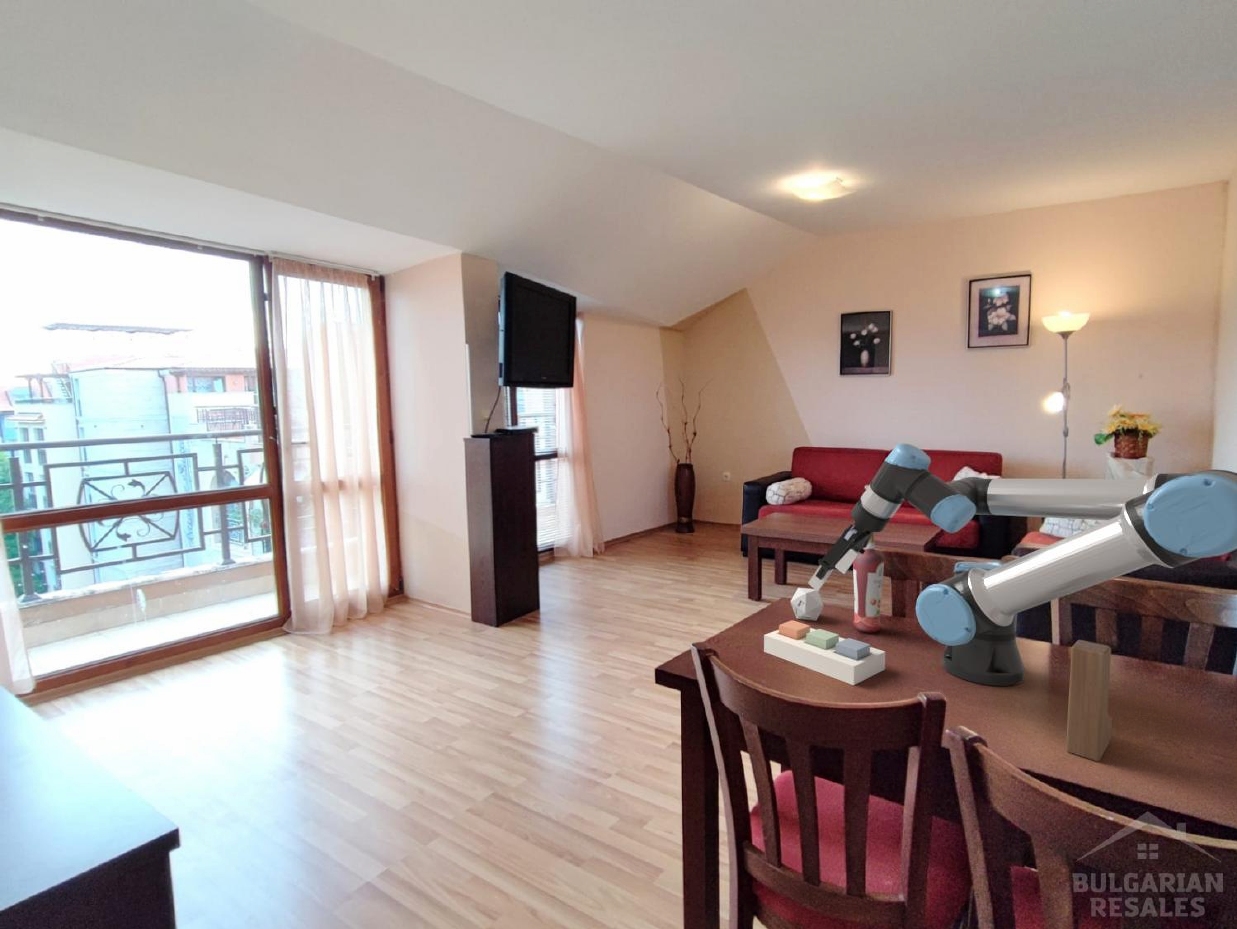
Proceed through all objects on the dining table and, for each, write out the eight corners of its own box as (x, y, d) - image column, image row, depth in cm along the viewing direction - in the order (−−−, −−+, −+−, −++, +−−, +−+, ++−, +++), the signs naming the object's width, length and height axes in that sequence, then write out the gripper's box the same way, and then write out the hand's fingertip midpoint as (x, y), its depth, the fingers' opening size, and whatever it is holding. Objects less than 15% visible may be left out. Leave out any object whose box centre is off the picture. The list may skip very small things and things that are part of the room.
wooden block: (1078, 732, 110) (1084, 631, 108) (1111, 742, 106) (1117, 638, 105) (1065, 752, 104) (1071, 645, 102) (1099, 763, 100) (1105, 653, 99)
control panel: (884, 669, 136) (885, 651, 136) (853, 685, 129) (853, 666, 129) (795, 639, 154) (796, 623, 154) (764, 651, 147) (764, 635, 147)
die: (785, 615, 174) (782, 594, 168) (807, 596, 176) (805, 575, 170) (809, 633, 168) (807, 612, 162) (831, 613, 171) (829, 592, 164)
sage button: (838, 647, 141) (838, 634, 141) (825, 653, 138) (825, 640, 138) (819, 641, 145) (819, 628, 145) (806, 646, 142) (806, 633, 142)
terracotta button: (810, 638, 147) (810, 625, 147) (796, 643, 144) (796, 630, 143) (792, 632, 151) (792, 620, 150) (778, 637, 148) (779, 625, 147)
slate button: (869, 658, 135) (870, 644, 135) (856, 664, 132) (857, 650, 132) (848, 651, 139) (848, 638, 139) (835, 657, 136) (835, 643, 136)
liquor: (874, 637, 155) (876, 524, 152) (846, 629, 160) (848, 520, 158) (887, 629, 160) (890, 520, 157) (859, 622, 165) (862, 516, 162)
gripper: (883, 487, 147) (837, 553, 158) (835, 510, 130) (787, 583, 140) (911, 507, 144) (862, 573, 154) (866, 532, 126) (814, 606, 137)
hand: (827, 578), depth 147 cm, fingers open, 13 cm apart
